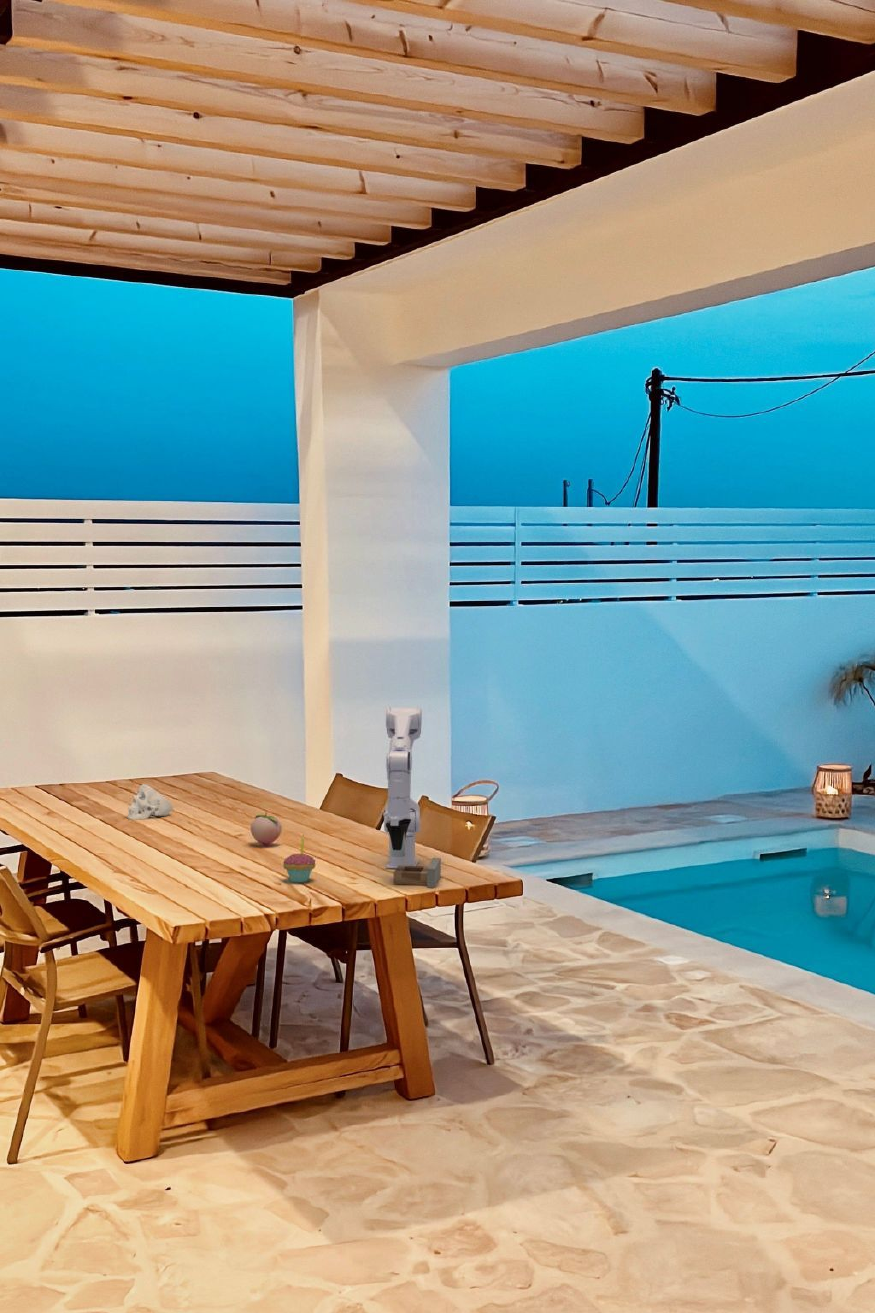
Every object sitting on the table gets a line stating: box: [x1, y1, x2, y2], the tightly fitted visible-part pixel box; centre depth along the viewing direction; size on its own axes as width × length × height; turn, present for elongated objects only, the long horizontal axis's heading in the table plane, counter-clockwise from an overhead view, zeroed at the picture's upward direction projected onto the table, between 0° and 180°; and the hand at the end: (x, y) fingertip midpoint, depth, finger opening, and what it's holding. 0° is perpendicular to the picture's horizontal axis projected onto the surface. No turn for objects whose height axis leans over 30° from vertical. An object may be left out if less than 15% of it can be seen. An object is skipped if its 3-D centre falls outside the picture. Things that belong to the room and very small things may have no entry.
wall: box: [426, 857, 442, 889], centre depth 347 cm, size 14×2×5 cm, turn 174°
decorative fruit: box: [250, 812, 283, 846], centre depth 393 cm, size 9×8×10 cm
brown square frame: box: [393, 865, 429, 886], centre depth 348 cm, size 9×9×3 cm
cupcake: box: [282, 834, 316, 884], centre depth 347 cm, size 9×8×12 cm
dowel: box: [391, 833, 405, 857], centre depth 347 cm, size 4×4×7 cm
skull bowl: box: [127, 783, 175, 821], centre depth 440 cm, size 10×14×12 cm
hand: (398, 848), depth 347 cm, fingers closed on dowel, 4 cm apart
